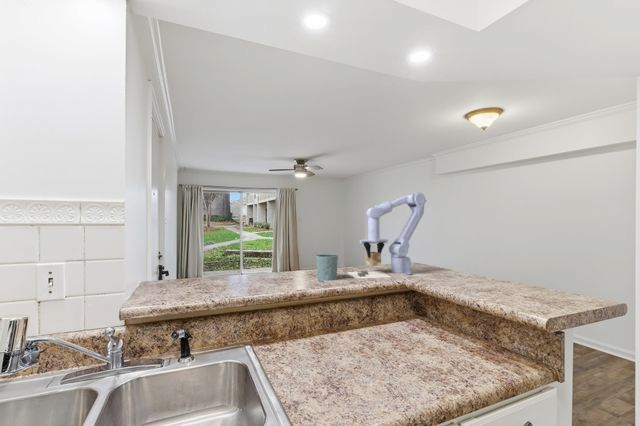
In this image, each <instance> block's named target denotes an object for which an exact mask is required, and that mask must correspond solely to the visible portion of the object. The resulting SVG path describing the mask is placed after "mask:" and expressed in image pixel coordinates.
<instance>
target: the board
mask: <svg viewBox="0 0 640 426" xmlns="http://www.w3.org/2000/svg"><path fill="white" fill-rule="evenodd" d="M367 272H368V275H365V277H360V276H358V273H361V271H352V272H350V271H349V272H348V271H347V272H346V273H347V274H349V275H350V276H351V277H353V278H354V279H356V280H357V279H378V278H380V279H381V278H384V279H385V278H392V276H391V275H389V274H387V273H385V272H383V271H379V270H378V271H377V270H376V271H367Z"/></svg>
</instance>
